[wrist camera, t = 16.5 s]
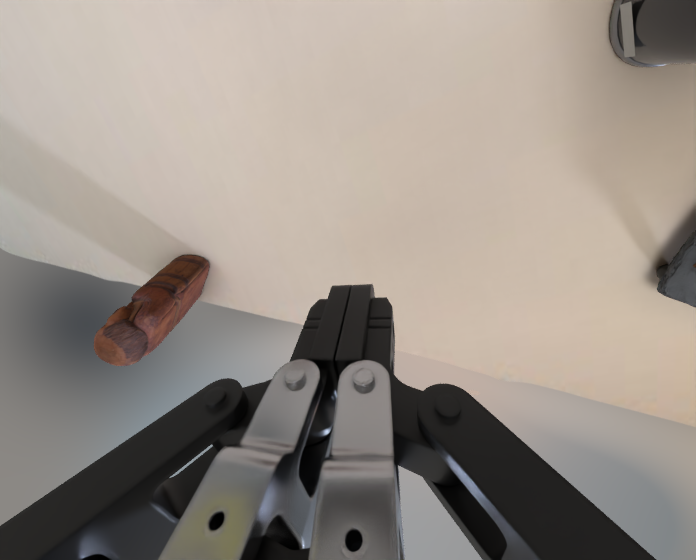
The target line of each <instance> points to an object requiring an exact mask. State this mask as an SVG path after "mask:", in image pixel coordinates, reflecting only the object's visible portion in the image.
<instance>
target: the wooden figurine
mask: <svg viewBox="0 0 696 560" xmlns="http://www.w3.org/2000/svg"><path fill="white" fill-rule="evenodd" d="M208 271H209V263H208V261H207V260H206V259H204V258H202V257H197V256H193V255H184V256H180V257H178V258H176V259H174V260H173V261H172V262H171V263H169V264H168V265H167V266H166V267H165V268H163V269H162V270H161V271H160V272H158V273H157V274H156V275H155V276H154V277H153V278H151V279H150V280H149V281H148V282H147V283H146V284H145V285H143V286H142V287H141V288H140V289H139V290H137V291H136V293H135V294H134V295H133V296H132V302H131V303H129V304H128V305H127V306H123V307H121V308H119V309H117V310H116V311H115V312H114V313H113V315H112V316H110V317H109V318H108V320H107V323H106V325H104V326H103V327H102V328H101V329H100V330H98V332H97V333H96V335H95V339H94V350H95V352H96V354H97V355H98V357H99V358H101V359H102V360H104V361H105V362H107V363H109V364H112V365H116V366H127V365H131V364H134V363H136V362H138V361H139V360H140V359H141V358H142V357H143V356H146V355H148V354H149V353H150V352H151V351H153V350H154V349H155V348H156V347H157V346H158V345H159V344H160V343H161V342H162V341H163V339H164V338H165V337H166V336H167V335H168V334H169V332H171V331H172V329H173V328H174V327H175V326H176V325H177V324H178V323H179V322H180V320H181V319H182V318H183V317H184V316H185V314H186V313H187V312H188V310H189V309H190V308H191V307H192V305H193V304H194V303H195V302H196V300H197V299H198V298H199V296H200V295H201V292H202V289H203V286H204V283H205V280H206V278H207V275H208Z"/></svg>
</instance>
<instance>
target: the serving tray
mask: <svg viewBox="0 0 696 560" xmlns="http://www.w3.org/2000/svg"><path fill="white" fill-rule="evenodd" d="M657 276H658V278H659V279H660V282H659V284H658V287H657V290H658V292H659V293H661V294H663V295H664V296H667V297H669V298H672V299H675V300H678V301H681V302H684V303H687V304H689V305H691V306H693V307H696V231H695V232H694V233H693V234H691V236H690V237H689V239H688V240H687V241H686V242H685V244H684V245H683V246H682V247H681V249H680V251H679V252H678V253H677V254H676V256H675V257H674V258H673V260H672V262H671V264H670V265H663V266H660V267H659V268H658V269H657Z"/></svg>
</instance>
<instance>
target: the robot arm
mask: <svg viewBox="0 0 696 560" xmlns="http://www.w3.org/2000/svg"><path fill="white" fill-rule="evenodd" d="M610 39H611V43H612V46H613V48H614V51H615V52H616V54H617V55H618V56H619V57H620V58H621V59H622V60H623V61H625V62H626V63H628V64H631V65H634V66H639V67H655V66H663V65H668V64H691V63H696V0H615V3H614V6H613V10H612V14H611V19H610ZM394 349H395V333H394V322H393V310H392V305H391V304H390V302H389V301H388V299H387V297H386V298H375V296H374V288H373V285H372V284H367V285H353V286H352V285H340V286H332V287H331V290H330V293H329V296H328V299H319V300H318V301H317V302H316V303H315V304H314V305H313V306H312V307H311V308H310V311H309V313H308V316H307V321H305V324H304V326H303V329H302V331H301V334H300V336H299V339H298V342H297V344H296V347H295V350H294V352H293V354H292V357H291V359H290V362H289V363H287V364H285V365H283V366H282V367H281V368H280V369H279V370H278V371H277V372H276V373H275V375H274V376H273V378H272V379H271V380H268V381H266V382H263V383H259V384H255V385H252V386H248V387H244V388H242V386H241V385H240V383H239V382H238V381H236V380H234V379H229V378H227V379H221V380H218V381H215V382H213V383H211V384H210V385H208V386H206V387H205V388H203V389H202V390H200V391H199V392H197V393H196V394H195V395H193V396H192V397H190V398H189V399H187V400H186V401H184V402H183V403H181V404H180V405H178V406H177V407H175V408H174V409H172V410H171V411H169V412H168V413H166V414H165V415H163V416H162V417H161V418H159V419H158V420H156V421H155V422H153V423H152V424H150V425H149V426H147V427H146V428H144V429H143V430H141V431H140V432H138V433H137V434H136V435H134V436H132V437H131V438H129V439H128V440H126V441H125V442H124V443H122V444H121V445H119V446H118V447H116V448H115V449H113V450H112V451H110V452H109V453H107V454H106V455H104V456H103V457H101V458H100V459H98V460H97V461H95V462H94V463H92V464H91V465H90V466H88V467H87V468H85V469H84V470H82V471H81V472H79V473H78V474H77V475H75V476H73V477H72V478H70V479H69V480H67V481H66V482H64V483H63V484H61V485H60V486H59V487H57V488H56V489H54V490H53V491H51V492H50V493H48V494H47V495H45V496H44V497H43V498H41V499H39V500H38V501H36V502H35V503H33V504H32V505H31V506H29V507H28V508H26V509H25V510H23V511H22V512H20V513H19V514H17V515H16V516H14V517H13V518H11V519H10V520H8V521H7V522H5V523H4V524H2V525H1V526H0V560H405V555H404V540H403V527H402V515H401V502H400V487H399V470H398V465H399V466H401V467H403V468H405V469H407V470H409V471H412V472H414V473H416V474H418V475H420V476H422V477H423V478H424V480H425V481H426V483H427V484H428V486H429V487H430V488H431V490H432V491H433V492H434V494H435V495H436V496H437V498H438V499H439V500H440V502H441V503H442V504H443V506H444V507H445V509H446V510H447V511H448V513H449V514H450V515H451V517H452V518H453V520H454V521H455V522H456V524H457V525H458V526H459V527H460V529H461V531H462V532H463V533H464V535H465V536H466V537H467V539H468V540H469V542H470V543H471V544H472V546H473V547H474V548H475V550H476V551H477V552H478V554H479V555H480V557H481V558H482V559H483V560H656V559H655V558H654V557H653V556H651V555H650V554H649V553H648V552H647V551H646V550H645V549H644V548H642V547H641V546H640V545H639V544H638V543H637V542H636V541H635V540H633V539H632V538H631V537H630V536H629V535H628V534H627V533H625V532H624V531H623V530H622V529H621V528H620V527H619V526H618V525H616V524H615V523H614V522H613V521H612V520H611V519H610V518H609V517H607V516H606V515H605V514H604V513H603V512H602V511H601V510H600V509H598V508H597V507H596V506H595V505H594V504H593V503H592V502H590V501H589V500H588V499H587V498H586V497H585V496H583V494H581V493H580V492H579V491H578V490H577V489H576V488H575V487H574V486H572V485H571V484H570V483H569V482H568V481H567V480H566V479H565V478H563V477H562V476H561V475H560V474H559V473H557V471H555V470H554V469H553V468H552V467H551V466H550V465H549V464H548V463H546V462H545V461H544V460H543V459H542V458H541V457H540V456H539V455H537V454H536V453H535V452H534V451H533V450H532V449H531V448H529V447H528V446H527V445H526V444H525V443H524V442H523V441H521V439H519V438H518V437H517V436H516V435H515V434H514V433H513V432H511V431H510V430H509V429H508V428H507V427H506V426H505V425H503V424H502V423H501V422H500V421H499V420H498V419H497V418H496V417H494V416H493V415H492V414H491V413H490V412H489V411H488V410H487V409H485V408H484V407H483V406H482V405H481V404H480V403H479V402H477V401H476V400H475V399H474V398H473V397H472V396H471V395H470V394H469V393H467V392H466V391H465V390H463V389H461V388H459V387H457V386H454V385H450V384H436V385H432V386H430V387H428V388H426V389H425V390H424V391H421V390H418V389H415V388H412V387H410V386H407V385H405V384H403V383H402V382H400V381H399V380H398V379H397V378H396V377H395V375H394V353H395V350H394ZM211 444H212V445H213V447H212V448H210V449H209V450H208V451H206V452H205V453H204V454H203V455H201V456H200V457H199V458H198V459H196V460H195V461H194V462H193V463H191V464H190V465H189V466H188V467H186V468H185V469H184V470H183V471H181V472H180V473H179V474H177V475H176V476H174V477H172V478H169V477H170V476H172V475H173V474H174V473H175V472H177V471H178V470H179V469H181V468H182V467H183V466H184V465H186V464H187V463H188V462H189V461H191V460H192V459H193V458H194V457H196V456H197V455H198V454H200V453H201V452H202V451H203V450H205V449H206V448H207V447H208V446H210V445H211Z"/></svg>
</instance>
